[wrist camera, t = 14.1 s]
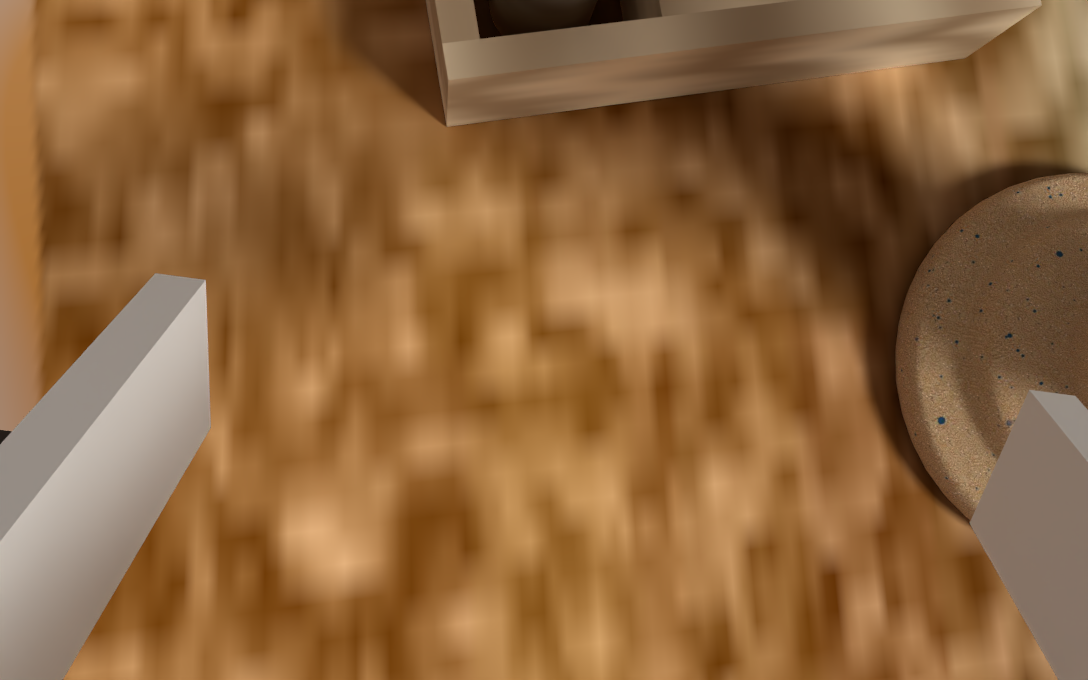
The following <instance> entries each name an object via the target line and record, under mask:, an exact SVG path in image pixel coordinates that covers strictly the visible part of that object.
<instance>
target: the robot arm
mask: <svg viewBox="0 0 1088 680" xmlns="http://www.w3.org/2000/svg"><path fill="white" fill-rule="evenodd" d="M210 428H211V420H210V391H209V362H208V333H207V304H206V280H202V279H194V278H187V277H179V276H172V275H164V274H157V273H155V274H154V276H153V277H152V278H151V279H150V280H149V281H148V282H147V283H146V284H145V285H144V287H143V288H142V289H141V290H140V291H139V292H138V293H137V294H136V295H135V296H134V298H133V299H132V300H131V301H130V302H129V303H128V304H127V305H126V306H125V308H124V309H123V310H122V311H121V312H120V313H119V314H118V315H117V316H116V317H115V319H114V320H113V321H112V322H111V323H110V324H109V325H108V326H107V327H106V328H105V330H104V331H103V332H102V333H101V334H100V335H99V336H98V337H97V338H96V339H95V341H94V342H93V343H92V344H91V345H90V346H89V347H88V348H87V349H86V350H85V352H84V353H83V354H82V355H81V356H80V357H79V358H78V359H77V360H76V361H75V363H74V364H73V365H72V366H71V367H70V368H69V369H68V370H67V371H66V373H65V374H64V375H63V376H62V377H61V378H60V379H59V380H58V381H57V382H56V384H55V385H54V386H53V387H52V388H51V389H50V390H49V391H48V392H47V393H46V395H45V396H44V397H43V398H42V399H41V400H40V401H39V402H38V403H37V404H36V406H35V407H34V408H33V409H32V410H31V411H30V412H29V413H28V414H27V415H26V417H25V418H24V419H23V420H22V421H21V422H20V423H19V424H18V425H17V426H16V428H15V429H14V430H13V431H12V432H11V431H4V430H0V680H63V678H64V677H65V675H66V673H67V672H68V670H69V668H70V667H71V665H72V663H73V661H74V660H75V658H76V656H77V655H78V653H79V651H80V649H81V648H82V646H83V644H84V643H85V641H86V639H87V638H88V636H89V634H90V632H91V631H92V629H93V627H94V626H95V624H96V622H97V621H98V619H99V617H100V615H101V614H102V612H103V610H104V609H105V607H106V605H107V603H108V602H109V600H110V598H111V597H112V595H113V593H114V592H115V590H116V588H117V586H118V585H119V583H120V581H121V580H122V578H123V576H124V575H125V573H126V571H127V569H128V568H129V566H130V564H131V563H132V561H133V559H134V558H135V556H136V554H137V552H138V551H139V549H140V547H141V546H142V544H143V542H144V540H145V539H146V537H147V535H148V534H149V532H150V530H151V529H152V527H153V525H154V523H155V522H156V520H157V518H158V517H159V515H160V513H161V512H162V510H163V508H164V506H165V505H166V503H167V501H168V500H169V498H170V496H171V494H172V493H173V491H174V489H175V488H176V486H177V484H178V483H179V481H180V479H181V477H182V476H183V474H184V472H185V471H186V469H187V467H188V466H189V464H190V462H191V460H192V459H193V457H194V455H195V454H196V452H197V450H198V449H199V447H200V445H201V443H202V442H203V440H204V438H205V437H206V435H207V433H208V431H209V430H210ZM969 524H970V525H971V527H972V529H973V531H974V532H975V534H976V536H977V538H978V539H979V541H980V543H981V545H982V546H983V548H984V550H985V552H986V553H987V555H988V557H989V559H990V560H991V562H992V564H993V566H994V567H995V569H996V571H997V573H998V575H999V576H1000V578H1001V580H1002V582H1003V583H1004V585H1005V587H1006V589H1007V590H1008V592H1009V594H1010V596H1011V597H1012V599H1013V601H1014V603H1015V604H1016V606H1017V608H1018V610H1019V611H1020V613H1021V615H1022V617H1023V618H1024V620H1025V622H1026V624H1027V625H1028V627H1029V629H1030V631H1031V633H1032V634H1033V636H1034V638H1035V640H1036V641H1037V643H1038V645H1039V647H1040V648H1041V650H1042V652H1043V654H1044V655H1045V657H1046V659H1047V661H1048V662H1049V664H1050V666H1051V668H1052V669H1053V671H1054V673H1055V675H1056V676H1057V678H1058V680H1088V410H1087V409H1086V407H1085V406H1084V405H1083V404H1082V403H1081V402H1080V401H1079V399H1078V398H1077V397H1076V396H1073V395H1065V394H1058V393H1050V392H1043V391H1035V390H1029V392H1028V394H1027V396H1026V398H1025V400H1024V403H1023V405H1022V407H1021V409H1020V412H1019V414H1018V416H1017V418H1016V421H1015V423H1014V425H1013V427H1012V429H1011V432H1010V434H1009V436H1008V438H1007V441H1006V443H1005V445H1004V447H1003V450H1002V452H1001V454H1000V456H999V458H998V461H997V463H996V465H995V467H994V470H993V472H992V474H991V476H990V479H989V481H988V483H987V485H986V487H985V490H984V492H983V494H982V496H981V499H980V501H979V503H978V505H977V508H976V510H975V512H974V514H973V516H972V519H971V521H970V523H969Z"/></svg>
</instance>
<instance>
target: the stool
mask: <svg viewBox="0 0 1088 680" xmlns="http://www.w3.org/2000/svg"><path fill="white" fill-rule="evenodd" d="M620 5H621V11H622V16H623V22H615V23H607V24H599V25H590V26H582V27H574V28H566V29H557V30H549V31H541V32H533V33H524V34H516V35H508V36H500V37H492V38H483V39H480V37H479V31H478V25H477V19H476V14H475V8H474V2H473V0H426V6H427V12H428V18H429V24H430V30H431V36H432V42H433V48H434V54H435V60H436V66H437V72H438V78H439V84H440V90H441V96H442V102H443V108H444V114H445V120H446V126H447V127H450V126H457V125H465V124H472V123H480V122H487V121H495V120H503V119H510V118H518V117H525V116H533V115H540V114H548V113H555V112H563V111H571V110H578V109H586V108H593V107H601V106H608V105H616V104H623V103H631V102H638V101H646V100H654V99H661V98H669V97H676V96H684V95H691V94H699V93H706V92H714V91H721V90H729V89H737V88H744V87H752V86H759V85H767V84H774V83H782V82H789V81H797V80H804V79H812V78H820V77H827V76H835V75H842V74H850V73H857V72H865V71H872V70H880V69H887V68H895V67H903V66H910V65H918V64H925V63H933V62H940V61H948V60H955V59H963V58H966V57H967V56H969V55H970V54H972V53H973V52H975V51H976V50H977V49H979V48H980V47H982V46H983V45H985V44H986V43H988V42H989V41H991V40H992V39H993V38H995V37H996V36H998V35H999V34H1001V33H1002V32H1004V31H1005V30H1006V29H1008V28H1009V27H1011V26H1012V25H1014V24H1015V23H1017V22H1018V21H1020V20H1021V19H1022V18H1024V17H1025V16H1027V15H1028V14H1030V13H1031V12H1033V11H1034V10H1035V9H1037V8H1038V7H1040V6H1041V5H1042V4H1041V0H620Z"/></svg>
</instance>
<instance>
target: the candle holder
mask: <svg viewBox="0 0 1088 680" xmlns="http://www.w3.org/2000/svg"><path fill="white" fill-rule="evenodd" d="M895 362H896V385H897V390H898V395H899V401H900V406H901V411H902V415H903V418H904V421H905V424H906V427H907V430H908V433H909V435H910V438H911V441H912V444H913V446H914V448H915V450H916V451H917V453H918V455H919V457H920V459H921V461H922V463H923V465H924V467H925V469H926V471H927V472H928V473H929V475H930V476H931V477H932V479H933V480H934V482H935V483H936V484H937V486H938V487H939V488H940V490H941V491H942V493H943V494H944V495H945V496H946V497H947V498H948V499H949V500H950V501H951V502H952V503H953V504H954V505H955V506H956V507H957V508H958V509H959V510H960V511H961V512H962V513H963V514H964V515H965V516H966V517H967V518H968V519H969V520H971V519H972V516H973V514H974V512H975V510H976V508H977V505H978V503H979V501H980V499H981V496H982V494H983V492H984V490H985V487H986V485H987V483H988V481H989V479H990V476H991V474H992V472H993V470H994V467H995V465H996V463H997V461H998V458H999V456H1000V454H1001V452H1002V450H1003V447H1004V445H1005V443H1006V441H1007V438H1008V436H1009V434H1010V432H1011V429H1012V427H1013V425H1014V423H1015V421H1016V418H1017V416H1018V414H1019V412H1020V409H1021V407H1022V405H1023V403H1024V400H1025V398H1026V396H1027V394H1028V392H1029V390H1035V391H1043V392H1050V393H1058V394H1065V395H1073V396H1076V397H1077V398H1078V399H1079V401H1080V402H1081V403H1082V404H1083V405H1084V406H1085V407H1086V409H1087V410H1088V174H1081V173H1067V174H1060V175H1053V176H1046V177H1040V178H1035V179H1032V180H1029V181H1026V182H1023V183H1020V184H1017V185H1013V186H1010V187H1008V188H1006V189H1004V190H1002V191H1000V192H998V193H996V194H994V195H993V196H991V197H989V198H987V199H985V200H983V201H981V202H979V203H978V204H977V205H975V206H974V207H973V208H971V209H970V210H969V211H968V212H966V213H965V214H964V215H962V216H961V217H960V218H958V219H957V220H956V221H955V222H954V223H953V224H952V225H951V226H950V227H949V229H948V230H947V231H946V232H945V233H944V234H943V235H942V236H941V237H940V238H939V239H938V240H937V241H936V243H935V244H934V245H933V247H932V248H931V250H930V251H929V253H928V254H927V256H926V257H925V259H924V260H923V262H922V263H921V265H920V266H919V268H918V270H917V272H916V274H915V277H914V279H913V281H912V283H911V285H910V288H909V290H908V292H907V294H906V298H905V301H904V305H903V309H902V312H901V316H900V320H899V324H898V333H897V341H896V350H895Z"/></svg>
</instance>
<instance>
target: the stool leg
mask: <svg viewBox="0 0 1088 680" xmlns="http://www.w3.org/2000/svg"><path fill="white" fill-rule="evenodd" d="M596 3H597V0H489V7H490V13H491V17H492V20H493V22H494V24H495V26H496V28H497V30H498V31H499V32H500V34H501V35H502V36H508V35H516V34H524V33H533V32H541V31H549V30H557V29H566V28H574V27H582V26H588V24H589V21H590V18H591V16H592V13H593V11H594V8H595V5H596Z"/></svg>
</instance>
